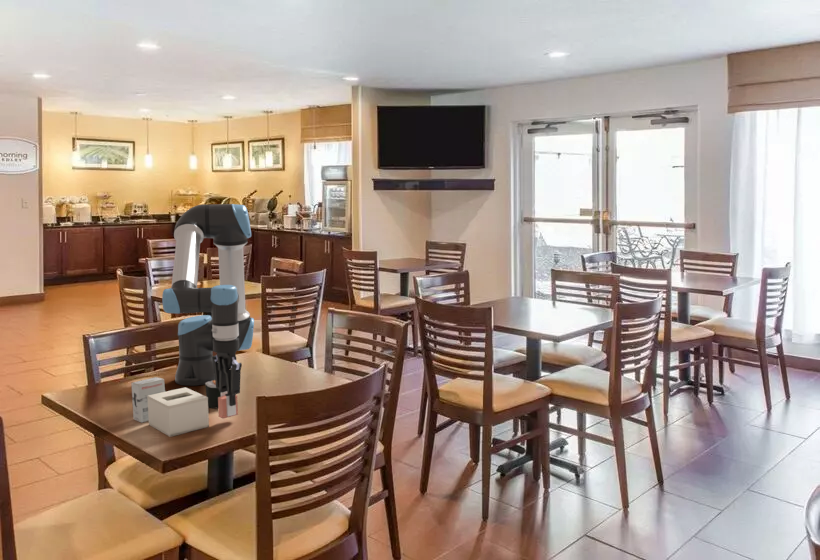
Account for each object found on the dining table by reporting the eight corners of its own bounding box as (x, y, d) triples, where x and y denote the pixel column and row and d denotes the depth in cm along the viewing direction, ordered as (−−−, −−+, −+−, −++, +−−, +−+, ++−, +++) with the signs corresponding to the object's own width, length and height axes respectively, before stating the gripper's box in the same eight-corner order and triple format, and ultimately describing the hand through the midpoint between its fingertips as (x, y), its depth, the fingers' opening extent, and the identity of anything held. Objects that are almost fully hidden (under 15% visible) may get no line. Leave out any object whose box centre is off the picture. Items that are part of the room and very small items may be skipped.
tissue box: (148, 424, 206) (147, 395, 204) (186, 415, 214) (185, 387, 213) (170, 436, 196) (168, 406, 195) (208, 426, 204) (207, 397, 203)
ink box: (158, 412, 217) (156, 375, 215) (167, 415, 214) (165, 378, 212) (132, 419, 210) (130, 381, 209) (141, 423, 207) (138, 384, 206)
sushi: (236, 405, 224) (235, 381, 223) (210, 409, 219) (209, 385, 218) (228, 398, 231) (227, 375, 230) (203, 403, 226) (202, 379, 225)
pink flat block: (218, 416, 207) (218, 397, 206) (233, 412, 210) (232, 393, 209) (222, 418, 205) (222, 399, 204) (237, 414, 209) (237, 395, 208)
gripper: (201, 335, 207) (204, 410, 211) (227, 344, 196) (230, 423, 200) (223, 331, 212) (226, 404, 216) (251, 340, 201) (253, 417, 205)
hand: (228, 413), depth 208 cm, fingers closed on pink flat block, 2 cm apart
